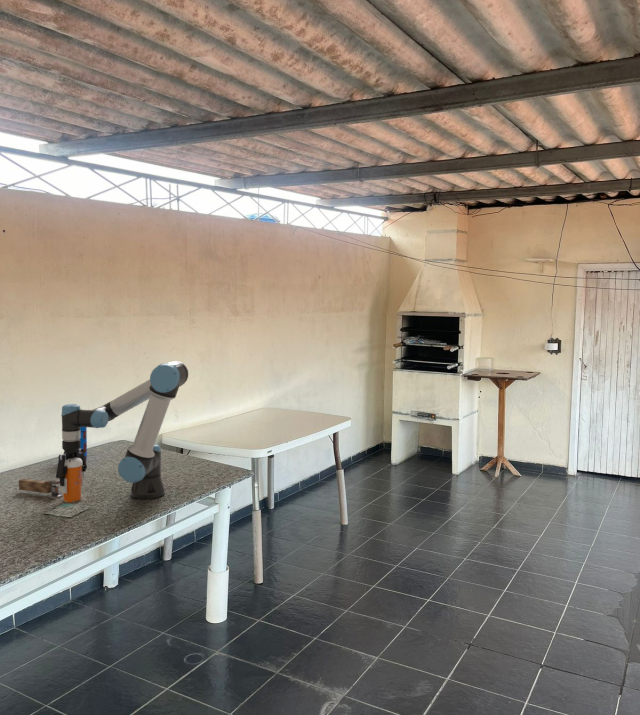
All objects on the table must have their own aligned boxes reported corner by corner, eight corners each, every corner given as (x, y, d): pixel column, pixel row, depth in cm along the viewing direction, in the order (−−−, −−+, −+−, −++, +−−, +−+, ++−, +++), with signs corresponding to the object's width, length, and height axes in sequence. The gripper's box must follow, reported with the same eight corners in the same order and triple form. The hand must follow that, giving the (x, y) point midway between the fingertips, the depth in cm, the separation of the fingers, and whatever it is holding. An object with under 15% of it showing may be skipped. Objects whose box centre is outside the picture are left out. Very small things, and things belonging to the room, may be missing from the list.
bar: (63, 492, 286) (63, 479, 285) (55, 495, 281) (55, 482, 281) (24, 487, 292) (24, 475, 291) (17, 490, 287) (16, 477, 287)
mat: (90, 508, 270) (90, 507, 270) (69, 518, 258) (69, 516, 258) (65, 504, 274) (65, 503, 274) (43, 514, 261) (43, 512, 261)
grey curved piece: (65, 495, 286) (65, 484, 286) (56, 499, 281) (55, 488, 280) (54, 493, 288) (54, 483, 288) (44, 497, 282) (44, 486, 282)
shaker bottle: (60, 503, 275) (59, 458, 273) (62, 497, 284) (61, 453, 282) (82, 502, 277) (81, 457, 275) (84, 496, 286) (83, 452, 284)
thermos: (61, 462, 340) (60, 416, 338) (74, 458, 351) (73, 413, 348) (78, 464, 337) (77, 418, 335) (91, 460, 348) (90, 414, 345)
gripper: (81, 433, 290) (81, 481, 292) (45, 444, 268) (46, 495, 270) (95, 435, 287) (95, 483, 290) (60, 446, 266) (61, 497, 268)
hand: (72, 489), depth 280 cm, fingers open, 10 cm apart
